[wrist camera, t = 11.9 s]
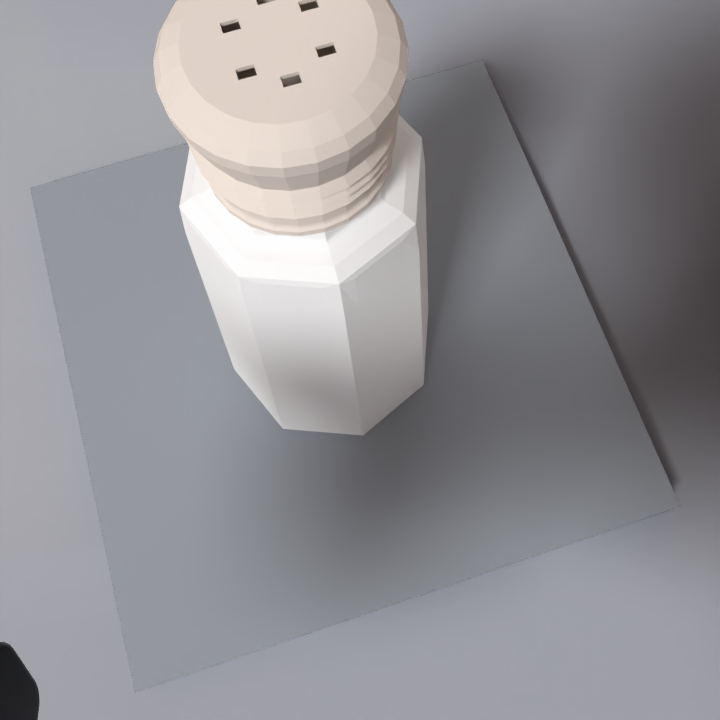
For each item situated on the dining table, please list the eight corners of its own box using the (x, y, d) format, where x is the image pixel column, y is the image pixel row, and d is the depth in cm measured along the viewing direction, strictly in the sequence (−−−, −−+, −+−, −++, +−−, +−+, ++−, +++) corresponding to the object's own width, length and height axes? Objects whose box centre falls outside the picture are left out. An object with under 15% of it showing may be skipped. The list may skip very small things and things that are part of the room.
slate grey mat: (666, 507, 17) (680, 506, 16) (146, 685, 16) (134, 692, 15) (478, 77, 21) (482, 60, 20) (43, 201, 20) (30, 187, 19)
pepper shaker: (210, 280, 18) (-15, -89, 7) (396, 225, 18) (435, -201, 8) (262, 468, 17) (75, 345, 6) (461, 405, 17) (617, 184, 6)
